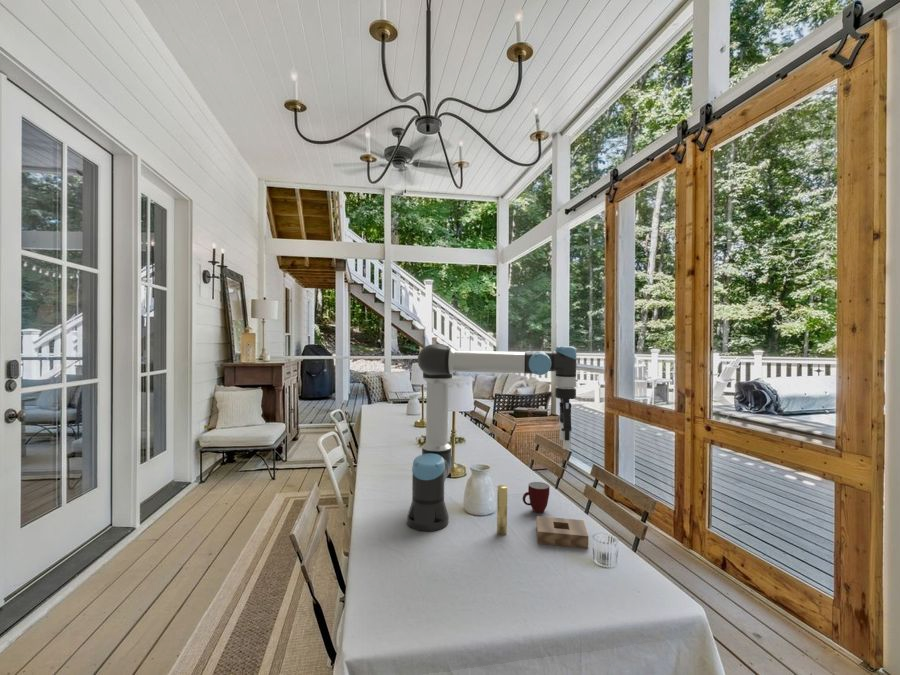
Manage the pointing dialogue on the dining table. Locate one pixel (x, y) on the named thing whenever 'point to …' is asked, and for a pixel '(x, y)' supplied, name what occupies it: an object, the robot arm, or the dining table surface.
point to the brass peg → (502, 510)
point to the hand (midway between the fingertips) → (564, 444)
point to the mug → (537, 496)
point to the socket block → (562, 532)
